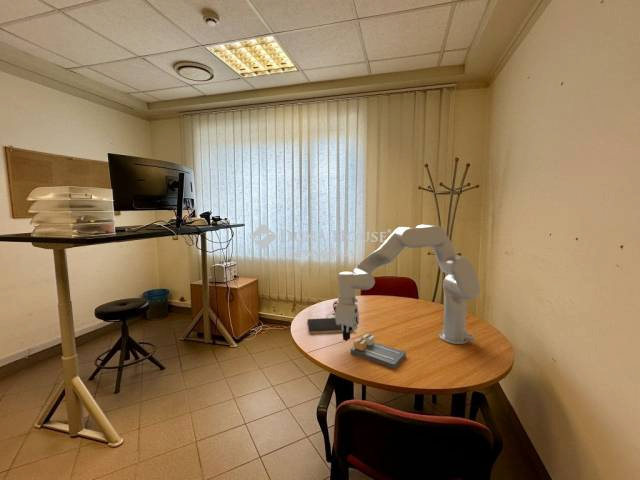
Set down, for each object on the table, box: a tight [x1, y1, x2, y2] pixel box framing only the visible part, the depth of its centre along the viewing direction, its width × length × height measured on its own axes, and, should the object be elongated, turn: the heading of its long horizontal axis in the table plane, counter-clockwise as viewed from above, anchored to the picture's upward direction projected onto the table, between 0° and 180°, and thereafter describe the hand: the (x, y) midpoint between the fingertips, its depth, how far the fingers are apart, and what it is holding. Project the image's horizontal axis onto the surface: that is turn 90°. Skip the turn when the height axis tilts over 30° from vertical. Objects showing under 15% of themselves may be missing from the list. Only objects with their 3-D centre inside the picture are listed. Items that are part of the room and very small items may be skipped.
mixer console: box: [350, 341, 407, 370], centre depth 121 cm, size 20×12×2 cm, turn 52°
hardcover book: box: [307, 317, 355, 335], centre depth 151 cm, size 16×23×2 cm
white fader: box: [361, 333, 376, 346], centre depth 127 cm, size 4×4×4 cm
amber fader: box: [353, 337, 367, 351], centre depth 123 cm, size 4×4×4 cm
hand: (346, 339), depth 127 cm, fingers closed
